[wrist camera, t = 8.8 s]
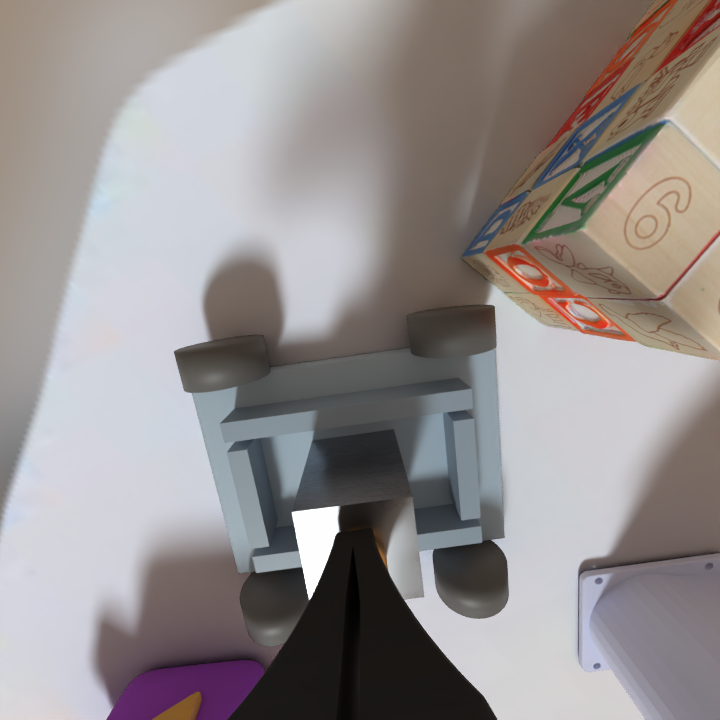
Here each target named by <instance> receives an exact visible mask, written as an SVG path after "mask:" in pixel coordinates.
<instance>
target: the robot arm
mask: <svg viewBox="0 0 720 720" xmlns="http://www.w3.org/2000/svg"><path fill="white" fill-rule="evenodd" d="M579 664H580V666H581V668H582V669H583V670H584V671H586V672H594V671H602V670H609V669H611V670H612V671H613V673H614V674H615V676H616V677H617V679H618V680H619V682H620V683H621V685H622V686H623V688H624V689H625V690H626V692H627V693H628V695H629V696H630V698H631V699H632V701H633V702H634V704H635V705H636V707H637V708H638V710H639V711H640V713H641V714H642V716H643V717H644V718H645V720H720V553H717V554H709V555H702V556H694V557H687V558H679V559H672V560H664V561H657V562H649V563H642V564H634V565H627V566H619V567H612V568H605V569H597V570H590V571H585V572H583V573H582V574H581V575H580V578H579ZM227 720H497V718H496V716H495V715H494V713H493V711H492V709H491V708H490V706H489V704H488V703H487V701H486V699H485V698H484V696H483V695H482V694H481V693H480V692H479V691H478V690H477V689H476V688H475V687H474V686H473V685H472V684H471V683H470V682H469V681H468V680H467V679H466V678H465V677H464V676H463V675H462V674H461V673H460V672H459V671H458V669H457V668H456V667H455V666H454V665H453V664H452V663H451V662H450V660H449V659H448V658H447V657H446V656H445V655H444V654H443V652H442V651H441V650H440V649H439V647H438V646H437V645H436V644H435V642H434V641H433V640H432V639H431V637H430V636H429V635H428V634H427V632H426V631H425V630H424V628H423V627H422V626H421V624H420V623H419V621H418V620H417V619H416V617H415V616H414V614H413V613H412V611H411V610H410V608H409V607H408V605H407V604H406V602H405V601H404V599H403V597H402V596H401V594H400V592H399V591H398V589H397V587H396V585H395V584H394V582H393V580H392V578H391V576H390V574H389V572H388V570H387V568H386V566H385V564H384V562H383V560H382V557H381V555H380V552H379V550H378V547H377V544H376V541H375V538H374V533H373V530H372V529H371V528H365V529H358V530H351V531H344V532H338V533H337V534H336V535H335V537H334V541H333V545H332V548H331V551H330V554H329V556H328V559H327V562H326V564H325V567H324V569H323V571H322V574H321V576H320V579H319V581H318V583H317V585H316V587H315V589H314V592H313V594H312V596H311V598H310V600H309V602H308V604H307V606H306V608H305V610H304V611H303V613H302V615H301V617H300V619H299V621H298V622H297V624H296V626H295V627H294V629H293V631H292V633H291V634H290V636H289V637H288V639H287V641H286V642H285V644H284V645H283V647H282V648H281V650H280V651H279V653H278V654H277V656H276V657H275V659H274V660H273V662H272V663H271V665H270V666H269V667H268V669H267V670H266V671H265V673H264V674H263V675H262V677H261V678H260V679H259V681H258V682H257V683H256V685H255V686H254V687H253V689H252V690H251V691H250V693H249V694H248V695H247V697H246V698H245V699H244V700H243V702H242V703H241V704H240V705H239V706H238V707H237V709H236V710H235V711H234V712H233V713H232V714H231V716H230V717H229V718H228V719H227Z"/></svg>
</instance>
